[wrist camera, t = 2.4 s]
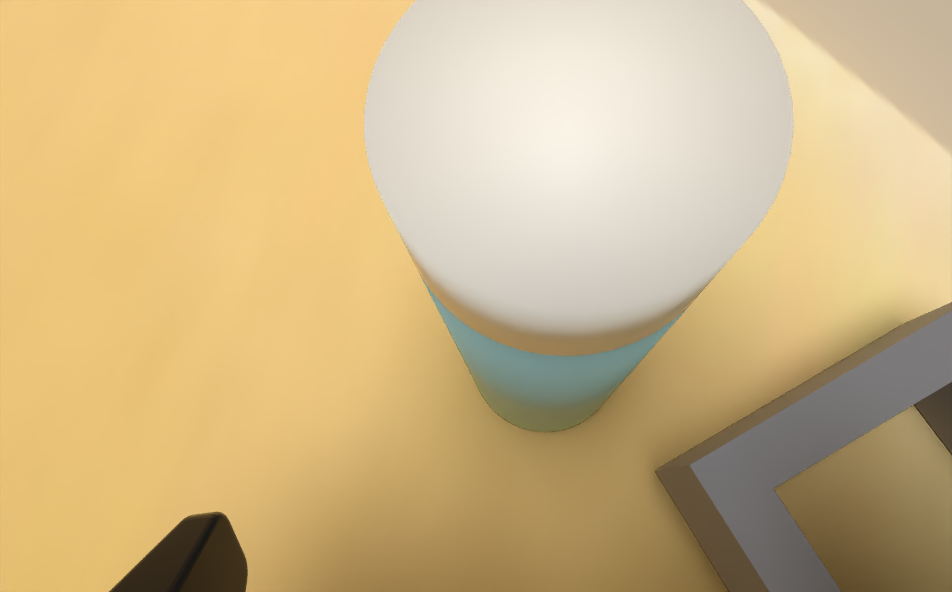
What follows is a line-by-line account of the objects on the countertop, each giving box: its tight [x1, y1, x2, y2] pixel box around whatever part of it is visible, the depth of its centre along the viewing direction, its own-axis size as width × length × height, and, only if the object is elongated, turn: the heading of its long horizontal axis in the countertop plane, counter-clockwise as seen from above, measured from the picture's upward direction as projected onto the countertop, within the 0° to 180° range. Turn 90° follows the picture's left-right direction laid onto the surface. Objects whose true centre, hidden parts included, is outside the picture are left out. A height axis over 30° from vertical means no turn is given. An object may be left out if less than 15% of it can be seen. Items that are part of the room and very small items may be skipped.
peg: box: [364, 0, 794, 432], centre depth 13 cm, size 4×4×13 cm
